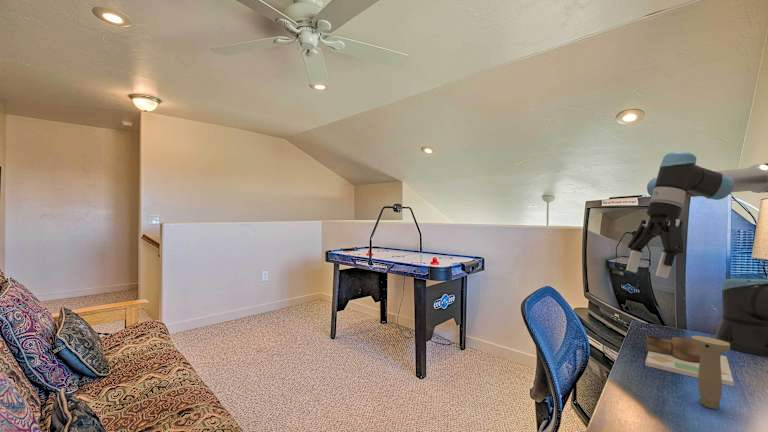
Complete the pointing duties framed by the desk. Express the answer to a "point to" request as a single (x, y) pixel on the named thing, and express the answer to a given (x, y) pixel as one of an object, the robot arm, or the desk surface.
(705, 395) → the handle
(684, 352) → the brown frying pan
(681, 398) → the desk surface
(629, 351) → the desk surface
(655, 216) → the robot arm
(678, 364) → the board
